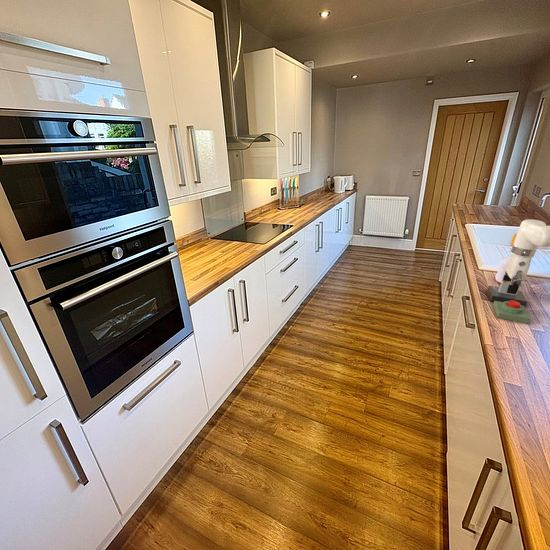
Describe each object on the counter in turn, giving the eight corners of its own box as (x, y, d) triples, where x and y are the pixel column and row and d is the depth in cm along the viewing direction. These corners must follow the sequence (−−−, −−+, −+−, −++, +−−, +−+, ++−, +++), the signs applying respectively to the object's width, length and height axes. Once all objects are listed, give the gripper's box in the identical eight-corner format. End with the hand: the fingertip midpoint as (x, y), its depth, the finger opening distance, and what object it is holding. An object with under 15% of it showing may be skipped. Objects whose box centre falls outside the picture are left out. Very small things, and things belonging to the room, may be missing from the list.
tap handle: (515, 293, 124) (519, 282, 122) (516, 295, 123) (520, 284, 120) (498, 290, 127) (502, 279, 124) (499, 292, 125) (503, 281, 123)
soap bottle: (520, 287, 135) (540, 236, 124) (497, 284, 138) (515, 234, 127) (514, 278, 143) (532, 230, 132) (492, 276, 146) (508, 229, 135)
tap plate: (518, 296, 127) (521, 290, 126) (524, 307, 119) (527, 301, 118) (486, 291, 132) (488, 285, 131) (490, 301, 124) (492, 295, 123)
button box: (522, 310, 118) (525, 302, 116) (529, 323, 110) (533, 314, 108) (492, 305, 122) (495, 296, 120) (497, 317, 114) (500, 308, 112)
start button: (517, 305, 115) (519, 301, 114) (519, 309, 112) (521, 305, 111) (506, 303, 116) (508, 299, 115) (508, 307, 113) (510, 303, 112)
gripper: (541, 260, 108) (524, 299, 115) (528, 245, 122) (514, 281, 129) (516, 257, 111) (501, 295, 118) (507, 242, 125) (494, 278, 132)
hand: (508, 288), depth 124 cm, fingers open, 9 cm apart
